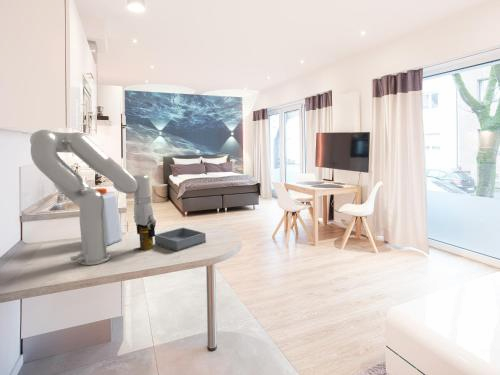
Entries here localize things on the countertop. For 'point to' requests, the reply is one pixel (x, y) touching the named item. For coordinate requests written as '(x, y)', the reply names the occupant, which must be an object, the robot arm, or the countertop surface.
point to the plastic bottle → (111, 217)
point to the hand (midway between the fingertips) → (146, 235)
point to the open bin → (180, 239)
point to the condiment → (145, 240)
